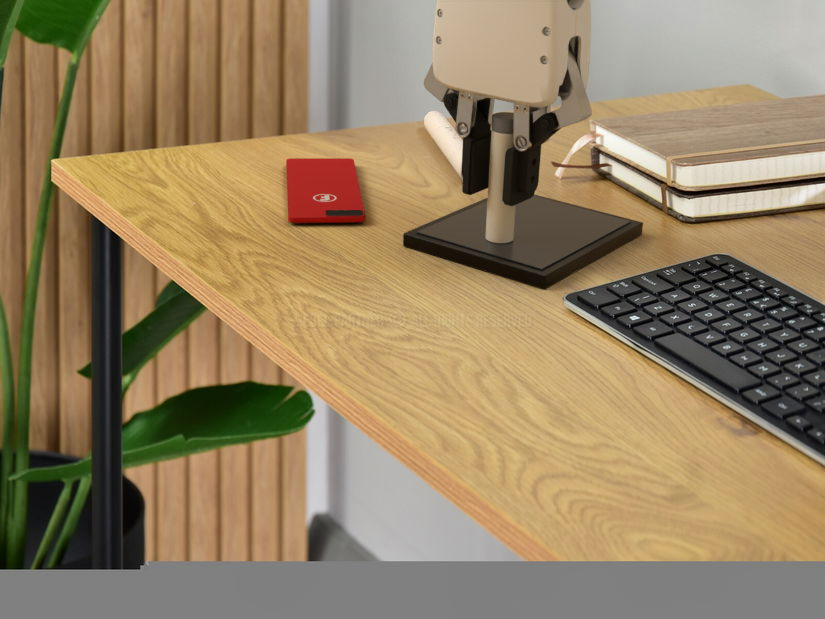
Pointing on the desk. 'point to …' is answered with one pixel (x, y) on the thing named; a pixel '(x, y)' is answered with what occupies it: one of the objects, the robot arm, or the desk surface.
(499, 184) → the stylus
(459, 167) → the cream cylinder
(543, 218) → the tablet
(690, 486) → the desk surface
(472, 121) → the robot arm
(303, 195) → the electronic device
